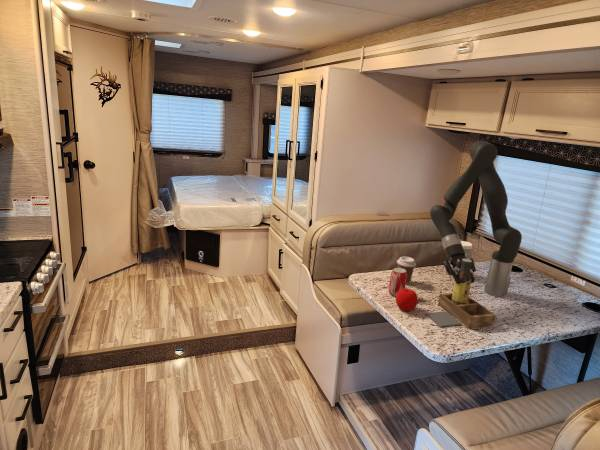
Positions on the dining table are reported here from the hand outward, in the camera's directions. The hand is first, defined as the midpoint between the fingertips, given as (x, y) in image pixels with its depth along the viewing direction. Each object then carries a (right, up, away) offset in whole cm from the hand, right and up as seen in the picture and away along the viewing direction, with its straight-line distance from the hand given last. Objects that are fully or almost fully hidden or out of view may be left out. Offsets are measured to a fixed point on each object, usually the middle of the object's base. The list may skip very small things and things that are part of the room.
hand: (465, 282), depth 165 cm
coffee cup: (-18, -4, +30) cm, 35 cm away
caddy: (0, -14, +1) cm, 14 cm away
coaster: (-11, -14, -4) cm, 19 cm away
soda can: (-26, -8, +15) cm, 31 cm away
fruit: (-25, -11, +3) cm, 28 cm away
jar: (+13, -2, +42) cm, 44 cm away
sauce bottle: (-1, -10, +5) cm, 11 cm away
